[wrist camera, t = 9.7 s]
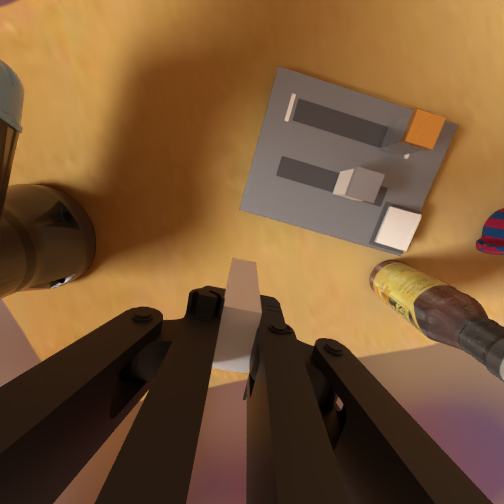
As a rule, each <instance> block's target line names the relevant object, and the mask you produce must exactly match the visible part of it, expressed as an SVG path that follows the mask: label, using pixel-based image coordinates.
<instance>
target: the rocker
mask: <svg viewBox="0 0 504 504" xmlns="http://www.w3.org/2000/svg"><path fill="white" fill-rule="evenodd" d="M421 217H422V215H419V214H416V213H412V212H408V211H405V210H401V209H398V208H394V207H388V209H387V212H386V214H385V217H384V219H383V222H382V224H381V226H380V229H379V231H378V234H377V236H376V239H375V241H374V242H377V243H380V244H383V245H386V246H390V247H393V248H396V249H399V250H403V251H407V249H408V246H409V244H410V242H411V240H412V237H413V235H414V233H415V231H416V228H417V226H418V224H419V222H420V219H421Z"/></svg>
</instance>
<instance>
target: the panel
mask: <svg viewBox="0 0 504 504" xmlns="http://www.w3.org/2000/svg"><path fill="white" fill-rule="evenodd" d="M413 111H415V110H412V109H409V108H406V107H403V106H400V105H397V104H394V103H391V102H388V101H384V100H381V99H378V98H375V97H372V96H369V95H366V94H363V93H360V92H357V91H354V90H351V89H348V88H345V87H342V86H339V85H336V84H332V83H329V82H326V81H323V80H320V79H317V78H314V77H311V76H308V75H305V74H302V73H299V72H296V71H293V70H290V69H287V68H283V67H280V66H278V69H277V73H276V76H275V80H274V84H273V88H272V91H271V95H270V99H269V102H268V106H267V110H266V113H265V117H264V121H263V124H262V128H261V132H260V136H259V139H258V143H257V147H256V150H255V154H254V158H253V161H252V165H251V169H250V173H249V176H248V180H247V184H246V187H245V191H244V195H243V198H242V202H241V206H240V210H242V211H245V212H249V213H252V214H256V215H259V216H263V217H266V218H270V219H273V220H277V221H280V222H284V223H287V224H291V225H294V226H297V227H301V228H304V229H308V230H311V231H315V232H318V233H322V234H325V235H329V236H332V237H336V238H339V239H343V240H346V241H350V242H353V243H356V244H360V245H363V246H367V247H370V248H374V249H377V250H381V251H384V252H388V253H391V254H395V255H398V256H401V254H403V252H404V251H403V250H399V249H396V248H393V247H390V246H386V245H383V244H380V243H377V242H374V241H375V239H376V236H377V234H378V231H379V229H380V226H381V224H382V222H383V219H384V217H385V214H386V212H387V209H388V207H394V208H398V209H401V210H405V211H408V212H412V213H416V214H419V215H420V213H421V212H420V211H421V209H422V206H423V204H424V202H425V199H426V197H427V195H428V193H429V190H430V188H431V186H432V184H433V181H434V179H435V177H436V175H437V172H438V170H439V168H440V165H441V163H442V161H443V159H444V156H445V154H446V152H447V150H448V147H449V145H450V143H451V141H452V138H453V136H454V134H455V131H456V129H457V127H458V124H455V123H452V122H449V121H446V120H445V122H444V124H443V126H442V129H441V131H440V133H439V136H438V138H437V140H436V143H435V145H434V147H433V150H429V151H427V150H423V151H419V152H415V153H410V154H406V155H402V156H401V155H397V154H394V153H391V152H388V151H385V150H382V149H380V147H381V144H382V142H383V139H384V136H385V134H386V131H387V128H388V126H389V124H391V123H393V122H395V121H397V120H399V119H401V118H403V117H405V116H407V115H410V114H412V113H413ZM357 166H358V167H361V168H365V169H368V170H371V171H374V172H378V173H381V174H384V175H385V176H384V178H383V181H382V183H381V186H380V189H379V191H378V194H377V196H376V199H375V201H374V203H369V202H366V201H357V200H351V199H348V198H344V197H341V196H338V195H334V194H333V191H334V188H335V185H336V183H337V180H338V177H339V174H340V171H345V170H349V169H354V168H355V167H357Z"/></svg>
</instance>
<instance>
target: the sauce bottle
mask: <svg viewBox="0 0 504 504" xmlns="http://www.w3.org/2000/svg"><path fill="white" fill-rule="evenodd" d="M370 286H371V288H372V289H373V291H374V292H375V293H376V295H377V296H378V297H379V298H380V299H381V300H383V301H384V302H385V303H386V304H387V305H389V306H390V307H391V308H392V309H394V310H395V311H396V312H397V313H398V314H400V315H401V316H402V317H403V318H404V319H406V320H407V321H408V322H409V323H410V324H412V325H413V326H414V327H416V328H417V329H418V330H419V331H420V332H422V333H423V334H424V335H425V336H427V337H428V338H429V339H431V340H434V341H437V342H440V343H444V344H447V345H450V346H452V347H455V348H458V349H461V350H463V351H465V352H466V353H468V354H470V355H472V356H473V357H475V358H476V359H477V360H478V361H479V362H481V363H482V364H484V365H485V366H486V368H487V369H488V370H489V371H490V372H491V373H492V374H493V375H495V376H496V377H498V378H499V379H501V380H502V381H503V382H504V327H502V326H500V325H499V324H498V323H497V322H495V321H494V320H490V319H489V318H488V316H487V314H486V312H485V310H484V308H483V307H482V306H481V304H480V303H479V302H478V301H477V300H475V299H474V298H472V297H471V296H469V295H468V294H465V293H462V292H460V291H458V290H457V289H455V288H454V287H452V286H450V285H448V284H446V283H444V282H442V281H440V280H438V279H436V278H434V277H431V276H429V275H427V274H425V273H423V272H421V271H419V270H417V269H415V268H413V267H411V266H408V265H406V264H404V263H401V262H398V261H385V262H382V263H381V264H379V265H377V267H375V268H374V270H373V271H372V273H371V275H370Z"/></svg>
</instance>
